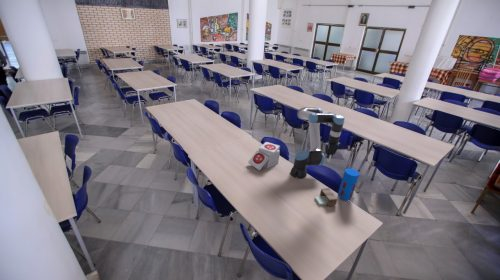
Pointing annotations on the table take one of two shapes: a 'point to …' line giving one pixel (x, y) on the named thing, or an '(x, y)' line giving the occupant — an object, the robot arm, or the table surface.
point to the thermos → (348, 184)
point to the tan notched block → (329, 196)
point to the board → (321, 200)
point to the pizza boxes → (265, 156)
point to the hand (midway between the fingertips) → (328, 161)
